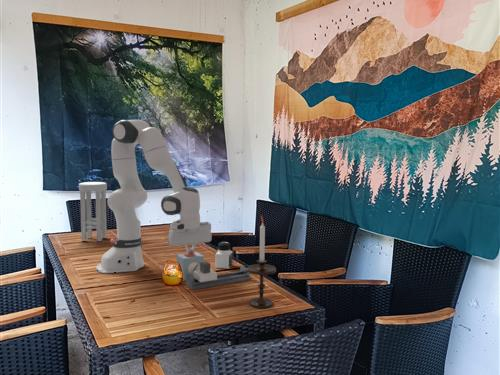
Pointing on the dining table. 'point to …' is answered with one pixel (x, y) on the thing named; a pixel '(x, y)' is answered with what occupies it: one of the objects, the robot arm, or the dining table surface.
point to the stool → (100, 212)
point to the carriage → (205, 273)
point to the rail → (219, 279)
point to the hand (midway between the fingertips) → (190, 253)
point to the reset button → (190, 255)
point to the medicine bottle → (224, 256)
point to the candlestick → (261, 273)
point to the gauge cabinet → (189, 263)
